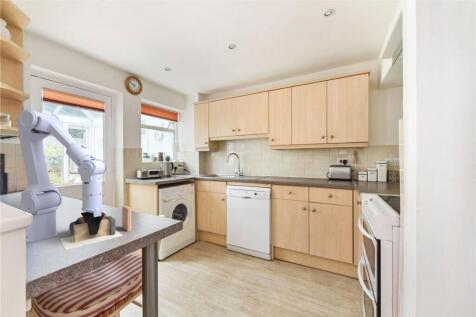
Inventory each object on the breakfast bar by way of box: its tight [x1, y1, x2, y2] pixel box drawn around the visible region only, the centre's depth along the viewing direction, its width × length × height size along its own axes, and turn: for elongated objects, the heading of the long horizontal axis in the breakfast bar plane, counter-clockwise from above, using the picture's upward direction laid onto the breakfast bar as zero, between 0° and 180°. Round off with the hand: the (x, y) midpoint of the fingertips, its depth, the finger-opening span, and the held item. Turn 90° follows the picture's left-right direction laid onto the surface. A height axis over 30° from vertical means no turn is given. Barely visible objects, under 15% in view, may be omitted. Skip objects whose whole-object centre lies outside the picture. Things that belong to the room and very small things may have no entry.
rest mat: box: [59, 228, 124, 251], centre depth 71 cm, size 16×12×1 cm
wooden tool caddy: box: [73, 215, 116, 243], centre depth 72 cm, size 11×6×6 cm, turn 136°
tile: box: [121, 205, 132, 233], centre depth 79 cm, size 1×6×9 cm, turn 46°
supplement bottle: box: [68, 211, 108, 234], centre depth 79 cm, size 6×6×11 cm
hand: (92, 233), depth 71 cm, fingers open, 3 cm apart
